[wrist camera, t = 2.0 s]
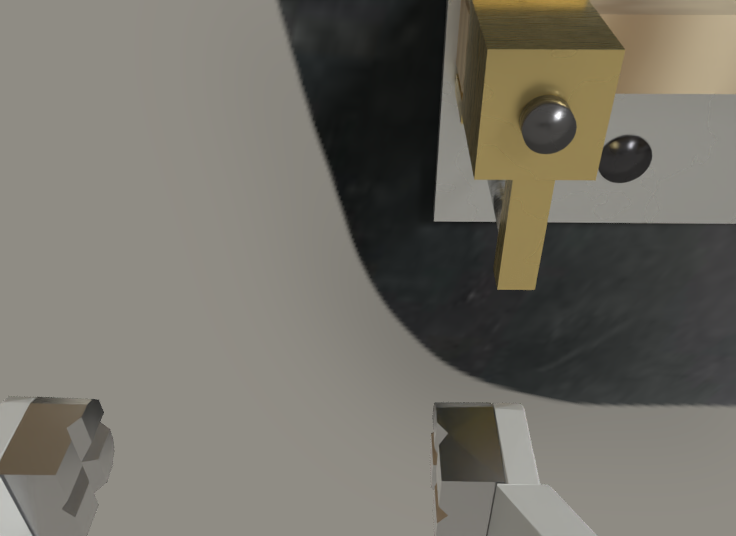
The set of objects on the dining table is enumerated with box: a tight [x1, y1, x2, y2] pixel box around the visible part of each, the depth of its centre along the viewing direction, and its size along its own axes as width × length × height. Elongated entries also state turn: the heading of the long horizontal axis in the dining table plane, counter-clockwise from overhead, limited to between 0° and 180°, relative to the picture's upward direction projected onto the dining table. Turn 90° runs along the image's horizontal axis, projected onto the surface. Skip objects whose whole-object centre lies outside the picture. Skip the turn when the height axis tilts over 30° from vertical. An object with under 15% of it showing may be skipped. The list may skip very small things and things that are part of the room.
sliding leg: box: [455, 0, 625, 290], centre depth 26 cm, size 4×10×9 cm, turn 0°
